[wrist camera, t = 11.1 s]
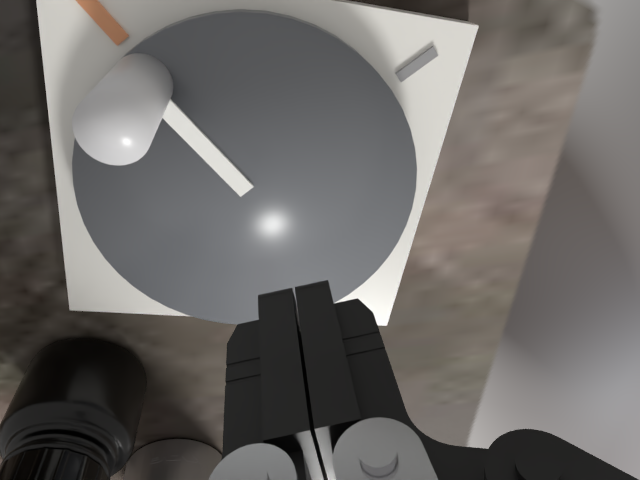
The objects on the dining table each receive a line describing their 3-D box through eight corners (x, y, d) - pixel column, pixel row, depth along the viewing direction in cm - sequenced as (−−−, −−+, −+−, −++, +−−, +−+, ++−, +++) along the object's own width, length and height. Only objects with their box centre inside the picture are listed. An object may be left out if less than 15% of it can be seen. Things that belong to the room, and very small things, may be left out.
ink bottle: (18, 402, 41) (-57, 559, 31) (30, 322, 37) (-52, 472, 27) (141, 421, 44) (109, 569, 34) (164, 348, 40) (136, 492, 30)
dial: (464, 200, 34) (523, 275, 27) (239, 352, 39) (237, 450, 31) (273, -83, 24) (284, -86, 17) (3, 166, 29) (-78, 247, 22)
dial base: (382, 313, 41) (387, 327, 39) (75, 296, 36) (68, 312, 35) (468, 21, 29) (480, 26, 28) (41, -54, 25) (29, -52, 24)
